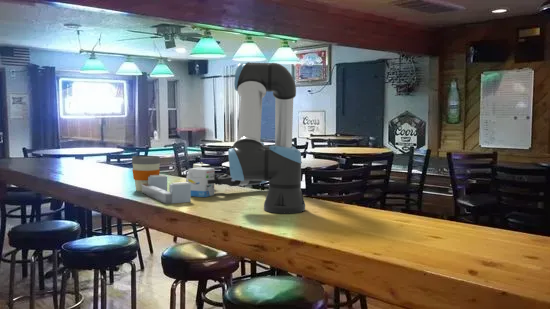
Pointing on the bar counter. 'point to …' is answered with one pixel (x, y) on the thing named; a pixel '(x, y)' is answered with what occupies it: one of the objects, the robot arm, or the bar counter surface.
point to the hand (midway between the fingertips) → (193, 180)
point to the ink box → (194, 180)
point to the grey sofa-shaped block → (172, 188)
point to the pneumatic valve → (201, 165)
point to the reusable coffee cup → (144, 169)
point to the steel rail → (157, 193)
